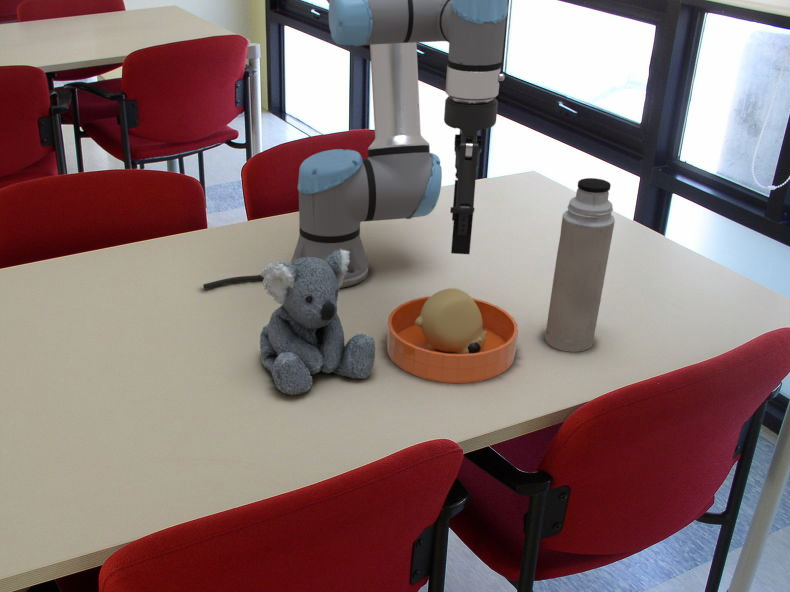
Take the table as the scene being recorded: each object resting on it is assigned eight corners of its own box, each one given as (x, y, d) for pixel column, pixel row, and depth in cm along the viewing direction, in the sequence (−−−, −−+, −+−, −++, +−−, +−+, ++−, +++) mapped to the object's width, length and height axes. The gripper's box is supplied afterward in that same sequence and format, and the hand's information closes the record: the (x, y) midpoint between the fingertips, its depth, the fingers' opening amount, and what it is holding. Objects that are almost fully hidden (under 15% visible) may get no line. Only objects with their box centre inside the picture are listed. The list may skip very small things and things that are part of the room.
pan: (382, 378, 144) (383, 350, 141) (391, 317, 162) (392, 292, 159) (517, 387, 141) (521, 359, 139) (511, 324, 159) (514, 299, 157)
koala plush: (283, 404, 137) (280, 287, 127) (236, 352, 151) (230, 243, 141) (381, 377, 144) (386, 264, 134) (328, 330, 158) (329, 224, 148)
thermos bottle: (547, 326, 159) (570, 171, 144) (594, 333, 156) (622, 176, 142) (542, 347, 152) (565, 187, 138) (590, 355, 150) (619, 193, 135)
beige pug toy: (443, 380, 150) (495, 352, 143) (398, 325, 147) (449, 294, 141) (457, 351, 157) (507, 323, 151) (415, 298, 155) (464, 268, 148)
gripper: (501, 121, 119) (486, 269, 130) (495, 77, 140) (483, 208, 151) (444, 119, 120) (434, 267, 131) (446, 76, 141) (438, 206, 152)
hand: (460, 236), depth 141 cm, fingers open, 13 cm apart
